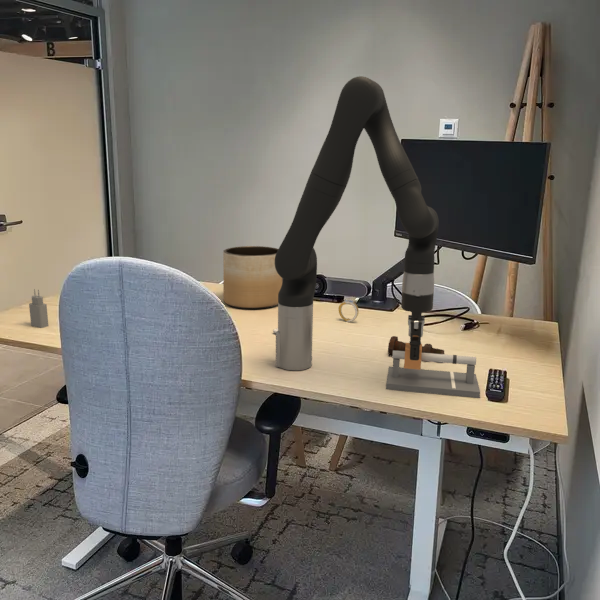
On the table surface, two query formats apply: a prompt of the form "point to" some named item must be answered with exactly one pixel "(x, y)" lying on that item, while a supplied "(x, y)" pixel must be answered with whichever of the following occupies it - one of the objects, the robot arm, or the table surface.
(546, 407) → the table surface
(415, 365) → the collar
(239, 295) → the planter
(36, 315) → the power adapter
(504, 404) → the table surface
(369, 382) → the table surface
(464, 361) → the pipe stand
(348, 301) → the ring
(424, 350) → the bolt
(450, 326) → the table surface
